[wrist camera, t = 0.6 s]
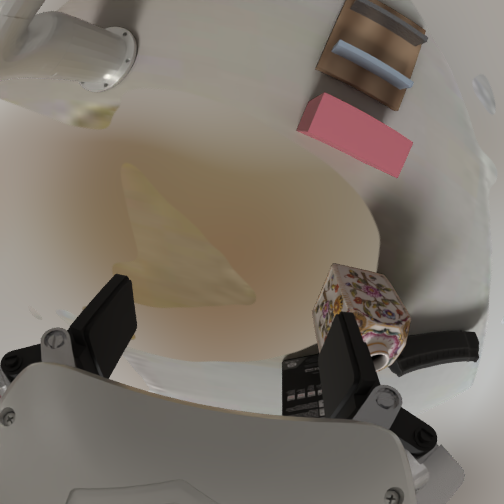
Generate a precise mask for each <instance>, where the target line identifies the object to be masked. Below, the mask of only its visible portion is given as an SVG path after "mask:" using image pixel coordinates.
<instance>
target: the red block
mask: <svg viewBox="0 0 504 504" xmlns="http://www.w3.org/2000/svg"><path fill="white" fill-rule="evenodd" d="M296 131H299V132H301V133H303V134H306V135H308V136H310V137H312V138H315V139H317V140H319V141H321V142H323V143H325V144H328V145H330V146H332V147H334V148H336V149H338V150H340V151H342V152H344V153H346V154H348V155H350V156H352V157H354V158H356V159H358V160H360V161H361V162H363V163H365V164H368V165H370V166H372V167H374V168H376V169H379V170H381V171H383V172H385V173H387V174H389V175H391V176H394V177H396V178H398V176H399V174H400V172H401V169H402V167H403V165H404V163H405V161H406V158H407V156H408V154H409V151H410V149H411V147H412V144H413V142H412V141H410V140H409V139H407V138H406V137H404V136H403V135H401V134H400V133H398V132H396V131H395V130H393V129H392V128H390V127H388V126H387V125H385V124H384V123H382V122H380V121H379V120H377V119H375V118H373V117H372V116H370V115H368V114H366V113H365V112H363V111H361V110H359V109H357V108H355V107H353V106H352V105H350V104H348V103H346V102H344V101H342V100H340V99H338V98H336V97H334V96H331V95H329V94H327V93H325V92H324V93H322V94H321V95H319V96H317V97H316V98H314V99H312V100H311V101H309V102H308V104H307V107H306V109H305V111H304V114H303V116H302V118H301V121H300V123H299V125H298V128H297V130H296Z"/></svg>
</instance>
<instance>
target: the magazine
mask: <svg viewBox="0 0 504 504" xmlns="http://www.w3.org/2000/svg"><path fill="white" fill-rule="evenodd" d="M478 351H479V341H478V338H477V336H476V333H475V332H466V331H450V332H433V333H426V334H419V335H413V336H409V337H407V341H406V345H405V347H404V348H403V350H402V352H401V354H400V355H399V356H398V357H397V359H396V360H395V361H394V363H393V364H392V365H390V366H388V367H389V368H390V370H391V371H392V372H393V373H395V374H397V376H398V377H401V376H402V375H404V374H406V373H409V372H412V371H415V370H418V369H422V368H427V367H431V366H435V365H439V364H445V363H452V362H462V361H467V362H468V361H474V362H477V360H478V359H479V355H478Z"/></svg>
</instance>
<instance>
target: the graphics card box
mask: <svg viewBox="0 0 504 504" xmlns="http://www.w3.org/2000/svg"><path fill="white" fill-rule="evenodd" d="M318 356H319V354H317V355H312V356H308V357H303V358H297V359H293V360H286V361H283V362H282V416H293V417H308V418H325V413H324V405H323V396H322V388H321V381H320V373H319V366H318Z"/></svg>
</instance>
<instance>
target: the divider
mask: <svg viewBox="0 0 504 504" xmlns="http://www.w3.org/2000/svg"><path fill="white" fill-rule="evenodd" d="M331 52H333V53H335V54H337V55H339V56H341V57H343V58H345V59H347V60H349V61H351V62H353V63H355V64H357V65H359V66H361V67H363V68H365V69H366V70H368V71H370V72H372V73H374V74H375V75H377V76H379V77H380V78H382V79H384V80H385V81H387V82H389V83H390V84H392V85H393V86H395V87H397V88H398V89H400V90H401V89H406V88H411V87H412V85H413V81H411V80H410V79H408V78H407V77H405V76H404V75H402V74H401V73H399V72H398V71H396V70H395V69H393V68H392V67H390V66H388V65H387V64H385V63H383V62H382V61H380V60H378V59H377V58H375V57H373V56H371V55H369V54H368V53H366V52H364V51H362V50H360V49H358V48H356V47H354V46H352V45H350V44H348V43H346V42H344V41H342V40H339V41H338V42H337V43H336V44H335V45H334V47H333V49H332V51H331Z"/></svg>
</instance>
